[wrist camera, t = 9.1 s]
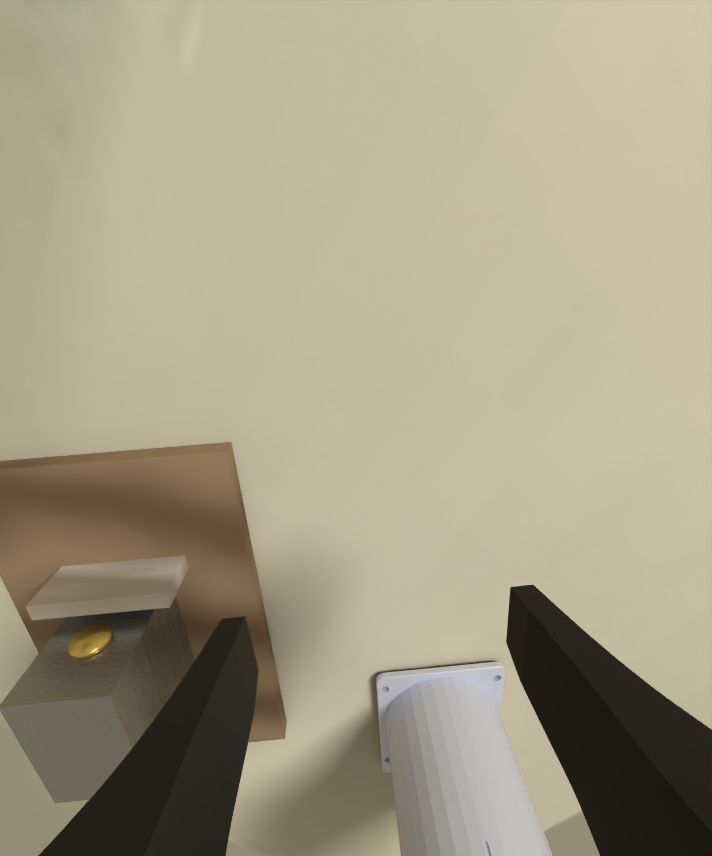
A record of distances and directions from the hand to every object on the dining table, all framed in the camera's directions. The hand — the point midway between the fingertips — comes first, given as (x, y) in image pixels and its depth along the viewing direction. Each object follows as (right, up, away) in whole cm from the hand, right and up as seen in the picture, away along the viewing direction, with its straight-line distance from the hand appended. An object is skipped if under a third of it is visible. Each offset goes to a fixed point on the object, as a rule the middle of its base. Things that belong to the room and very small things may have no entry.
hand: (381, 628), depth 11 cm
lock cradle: (-12, -5, +11) cm, 17 cm away
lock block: (-12, -5, +10) cm, 17 cm away
